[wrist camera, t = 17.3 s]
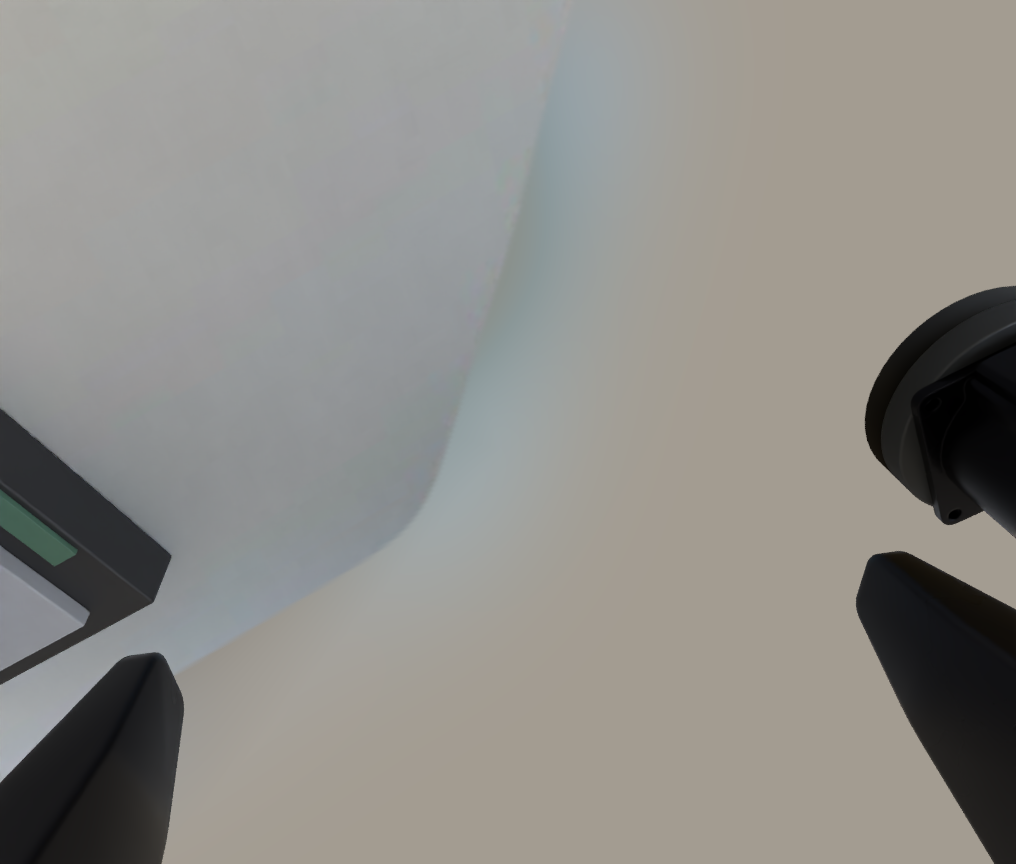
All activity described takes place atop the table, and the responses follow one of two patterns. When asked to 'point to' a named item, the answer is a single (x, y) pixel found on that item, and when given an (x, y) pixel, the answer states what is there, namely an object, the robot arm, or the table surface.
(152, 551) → the scale
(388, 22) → the table surface
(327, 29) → the table surface
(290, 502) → the table surface
